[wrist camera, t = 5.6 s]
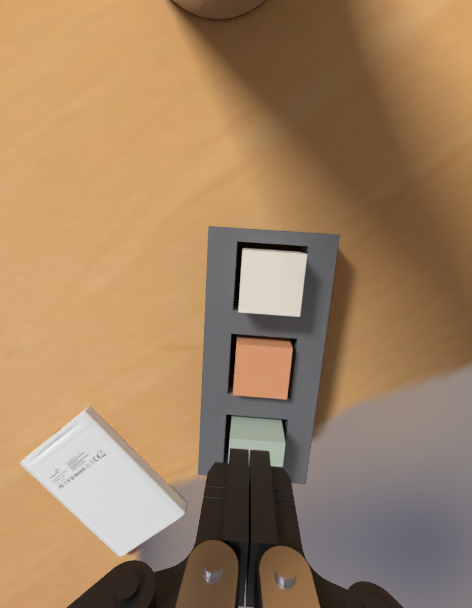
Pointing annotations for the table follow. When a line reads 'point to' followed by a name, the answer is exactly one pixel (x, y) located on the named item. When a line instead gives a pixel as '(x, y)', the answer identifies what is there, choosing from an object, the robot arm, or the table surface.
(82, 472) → the external hard drive
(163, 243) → the table surface
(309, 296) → the keypad
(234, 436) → the sage button
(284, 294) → the cream button
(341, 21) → the table surface
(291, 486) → the robot arm
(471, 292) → the table surface
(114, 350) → the table surface
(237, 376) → the terracotta button
